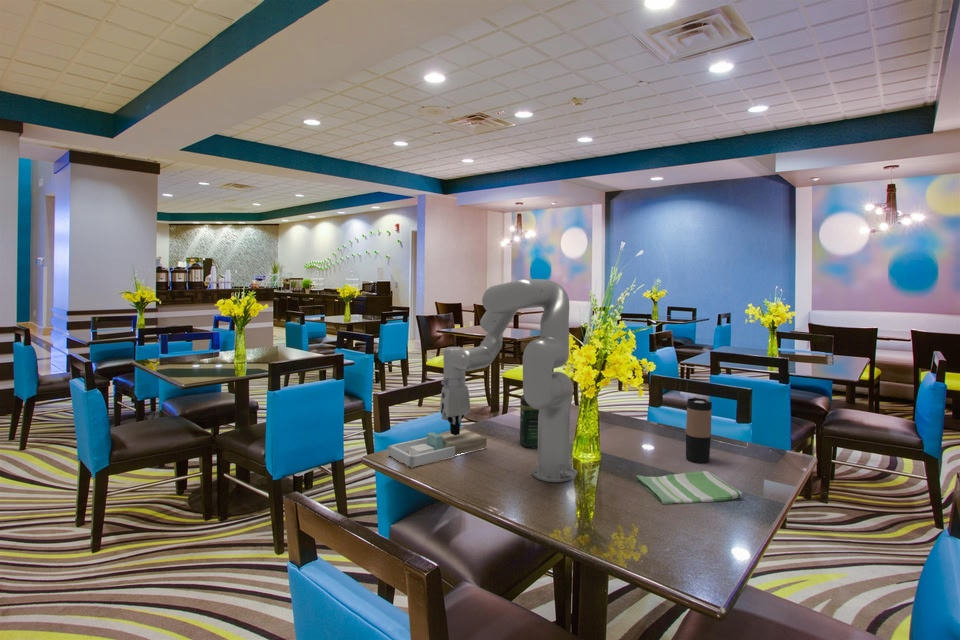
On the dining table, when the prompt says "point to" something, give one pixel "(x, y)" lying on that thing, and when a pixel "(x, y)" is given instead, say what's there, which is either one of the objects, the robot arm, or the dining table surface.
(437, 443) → the teal tile
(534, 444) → the coffee jar
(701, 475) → the dish towel
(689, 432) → the travel mug
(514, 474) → the dining table surface
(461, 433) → the birch board
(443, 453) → the tray
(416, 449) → the white tile
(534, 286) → the robot arm
